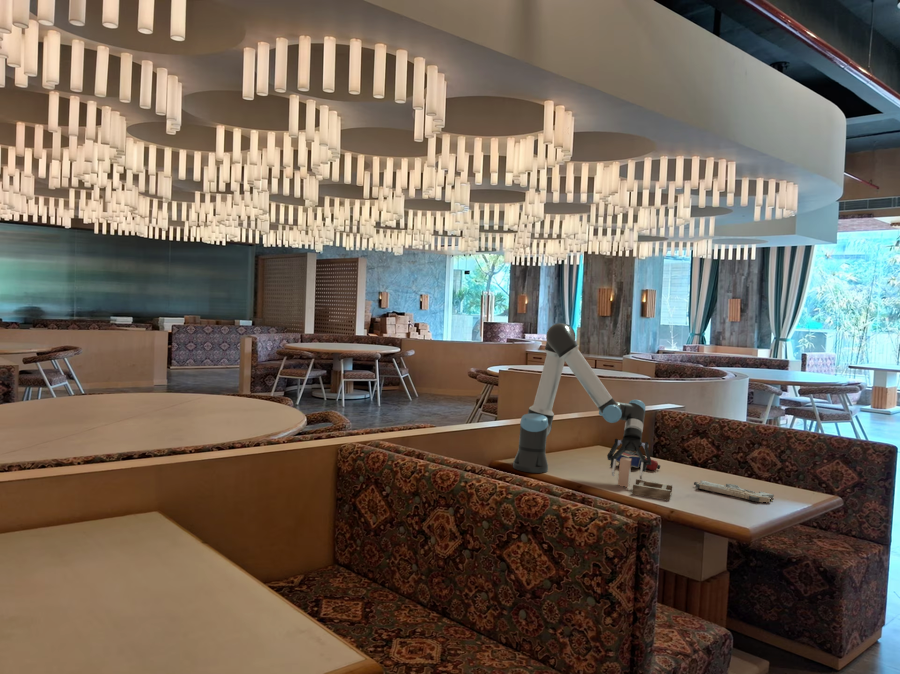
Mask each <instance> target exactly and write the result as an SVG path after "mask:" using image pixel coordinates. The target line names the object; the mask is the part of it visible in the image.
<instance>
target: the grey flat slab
mask: <svg viewBox="0 0 900 674" xmlns="http://www.w3.org/2000/svg"><path fill="white" fill-rule="evenodd" d="M694 485H695V488H698V489H701V490H705V491H709V492H711V493H713V494H715V493H718V494H723V495H728V496H733V497H736V498H741V499H746V500H748V501H752V502H756V503H757V502H758V503H763V502H766V503H765V504H767V503H771V501H772V500H773V499H774V498H773V497H775V495H774V494H773V493H769V492H764V491H758V492H755V491H754V490H749V489H746V488H741V487H740V486H739V485H738V484H731V483H725V485H724V484H719V483H714V482H710V481H706V480H700V482H697V481H694V482H693V486H694ZM770 498H773V499H771V501H770Z"/></svg>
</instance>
